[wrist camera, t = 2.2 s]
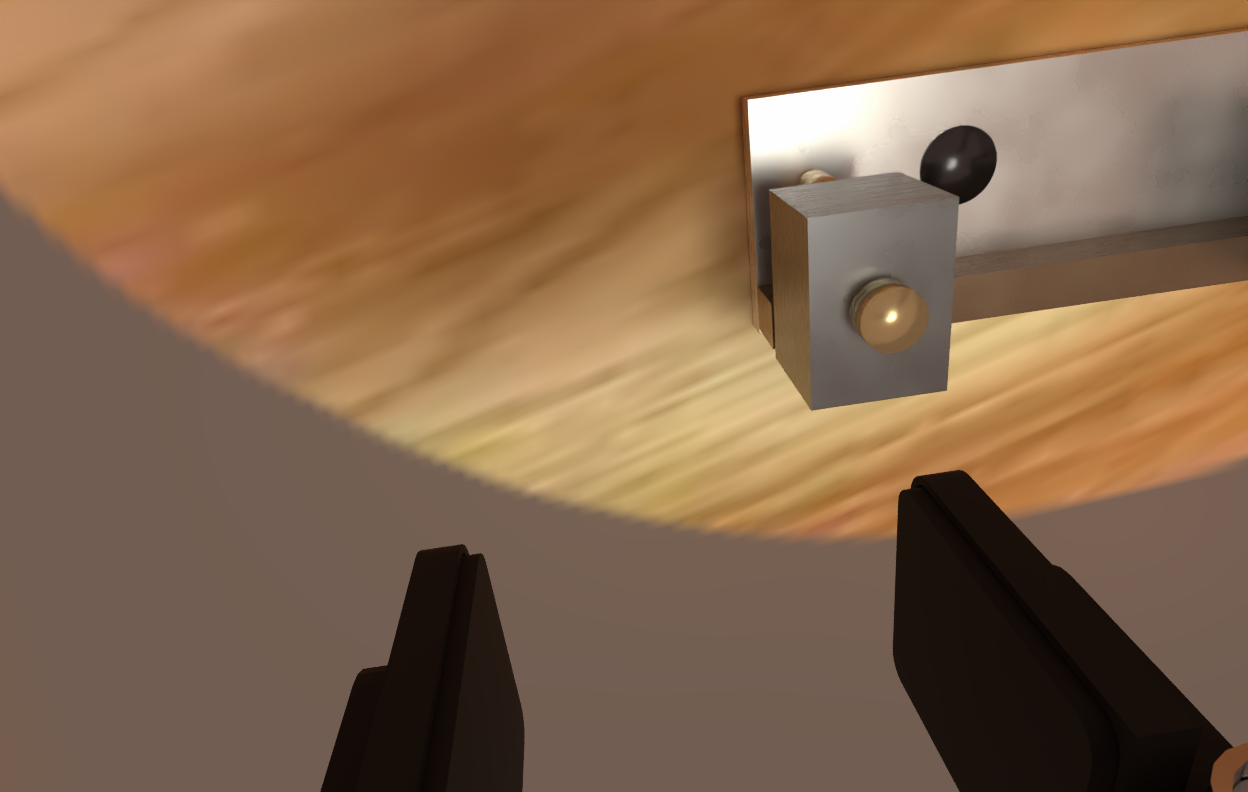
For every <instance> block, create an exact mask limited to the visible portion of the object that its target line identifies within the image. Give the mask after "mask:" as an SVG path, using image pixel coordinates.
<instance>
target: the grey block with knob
mask: <svg viewBox="0 0 1248 792" xmlns="http://www.w3.org/2000/svg"><path fill="white" fill-rule="evenodd" d="M769 202H770V226H771V251H772V276H773V301H774V325H775V350H776V359H777V360H778V362H779V363H780V365H781V366H782V368H783V369H784V371H785V372H786V374H787V375H788V377H789V378H790V380H791V381H792V383H793V384H794V386H795V387H796V388H797V390H798V391H799V393H800V394H801V396H802V397H803V399H804V400H805V402H806V403H807V405H808V406H809V408H810V409H811V410H818V409H825V408H831V407H838V406H845V405H852V404H859V403H865V402H872V401H879V400H886V399H893V398H899V397H906V396H913V395H920V394H927V393H933V392H940V391H947V381H948V366H949V350H950V335H951V319H952V303H953V288H954V272H955V257H956V241H957V226H958V210H959V197H958V196H956V195H953V194H951V193H949V192H946V191H944V190H941V189H939V188H937V187H934V186H932V185H929V184H927V183H925V182H922V181H920V180H917V179H915V178H913V177H910V176H908V175H905V174H903V173H901V172H890V173H883V174H876V175H869V176H862V177H855V178H848V179H841V180H839V179H837V178H835V177H833V176H831V175H829V174H828V173H826V172H824V171H821V170H811V171H808V172H806V173H805V174H804V175H803V176H802V177H801V178H800V179H799V181H798V184H797V186H791V187H784V188H777V189H770V190H769Z"/></svg>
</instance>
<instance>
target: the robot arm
mask: <svg viewBox="0 0 1248 792" xmlns="http://www.w3.org/2000/svg"><path fill="white" fill-rule="evenodd" d="M894 606H895V607H894V632H893V634H894V635H893V657H894V662H895V667H896V670H897V673H898V676H899V678H900V680H901V682H902V684H903V686H904V688H905V690H906V692H907V694H908V695H909V697H910V699H911V701H912V703H913V705H914V707H915V709H916V710H917V713H918V714H919V716H920V718H921V720H922V721H923V724H924V726H925V727H926V729H927V731H928V733H929V735H930V737H931V739H932V741H933V743H934V744H935V746H936V748H937V750H938V752H939V754H940V756H941V757H942V759H943V761H944V763H945V765H946V767H947V769H948V771H949V773H950V774H951V776H952V778H953V780H954V782H955V783H956V786H957V788H958V789H959V791H960V792H1248V743H1244V744H1242V745H1239V746H1236V747H1232V745H1231V744H1230V743H1229V742H1228V741H1227V740H1226V739H1225V738H1224V737H1223V736H1222V735H1221V734H1220V733H1219V732H1218V731H1217V730H1216V729H1215V727H1214V726H1213V725H1212V724H1211V723H1210V722H1209V721H1208V720H1207V719H1206V718H1205V717H1204V716H1203V715H1202V714H1201V713H1200V712H1199V711H1198V710H1197V709H1196V708H1195V706H1194V705H1193V704H1192V703H1191V702H1190V701H1189V700H1188V699H1187V698H1186V697H1185V696H1184V695H1183V694H1182V693H1181V692H1180V690H1179V689H1178V688H1177V687H1176V686H1175V685H1174V684H1173V683H1172V682H1171V681H1170V680H1169V679H1168V678H1167V677H1166V676H1165V675H1164V674H1163V672H1161V670H1160V669H1159V668H1158V667H1157V666H1156V665H1155V664H1154V663H1153V662H1152V661H1151V660H1150V659H1149V658H1148V657H1147V656H1146V655H1145V653H1144V652H1142V650H1141V649H1140V648H1139V647H1138V646H1137V645H1136V644H1135V643H1134V642H1133V641H1132V640H1131V639H1130V638H1129V637H1128V635H1126V633H1125V632H1124V631H1123V630H1122V629H1121V628H1120V627H1119V626H1118V625H1117V624H1116V623H1115V622H1114V621H1113V620H1112V619H1111V618H1110V617H1109V615H1108V614H1107V613H1106V612H1105V611H1104V610H1103V609H1102V608H1101V607H1100V606H1099V605H1098V604H1097V603H1096V602H1095V601H1094V600H1093V598H1092V597H1091V596H1090V595H1089V594H1088V593H1087V592H1086V591H1085V590H1084V589H1083V588H1082V587H1081V586H1080V585H1079V584H1078V583H1077V582H1076V581H1075V579H1074V578H1073V577H1072V576H1071V575H1069V574H1068V573H1067V572H1066V571H1065V570H1063V569H1062V568H1061V567H1058V566H1055V565H1052V564H1051V563H1050V562H1049V561H1048V560H1047V559H1046V558H1045V557H1044V556H1043V554H1042V553H1041V552H1040V551H1039V550H1038V549H1037V548H1036V547H1035V546H1034V545H1033V544H1032V543H1031V541H1030V540H1029V539H1028V538H1027V537H1026V536H1025V535H1024V534H1023V533H1022V532H1021V531H1020V530H1019V529H1018V527H1017V526H1016V525H1015V524H1014V523H1013V522H1012V521H1011V520H1010V519H1009V518H1008V517H1007V516H1006V515H1005V513H1004V512H1003V511H1002V510H1001V509H1000V508H999V507H998V506H997V505H996V504H995V503H994V502H993V501H992V499H991V498H990V497H989V496H988V495H987V494H986V493H985V492H984V491H983V490H982V489H981V488H980V487H979V486H978V484H977V483H976V482H975V481H974V480H973V479H972V478H971V477H970V476H969V475H968V474H967V473H966V472H964V471H961V470H956V471H949V472H943V473H936V474H929V475H922V476H917V477H915V478H914V479H913V482H912V484H911V489H907V490H903V491H901V492H900V495H899V500H898V524H897V551H896V578H895V605H894ZM523 760H524V721H523V713H522V708H521V703H520V699H519V695H518V691H517V687H516V683H515V679H514V675H513V671H512V667H511V663H510V659H509V654H508V651H507V646H506V642H505V639H504V634H503V630H502V626H501V622H500V618H499V614H498V610H497V606H496V602H495V598H494V594H493V589H492V585H491V581H490V577H489V573H488V569H487V565H486V561H485V558H484V556H483V554H481V553H480V554H473V555H469V553H468V550H467V548H466V546H465V545H463V544H461V545H455V546H447V547H441V548H434V549H428V550H421V551H419V552H418V553H417V555H416V558H415V562H414V566H413V569H412V573H411V577H410V581H409V585H408V589H407V593H406V596H405V600H404V604H403V609H402V612H401V616H400V619H399V623H398V627H397V631H396V635H395V639H394V643H393V646H392V650H391V654H390V658H389V662H388V665H387V666H380V667H373V668H366V669H363V670H362V671H361V672H360V673H359V674H358V675H357V677H356V679H355V682H354V684H353V687H352V690H351V693H350V696H349V700H348V703H347V706H346V710H345V713H344V716H343V719H342V723H341V726H340V729H339V733H338V736H337V739H336V742H335V746H334V749H333V752H332V755H331V759H330V762H329V766H328V769H327V772H326V775H325V778H324V782H323V785H322V788H321V792H522V787H523V762H524V761H523Z"/></svg>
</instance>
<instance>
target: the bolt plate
mask: <svg viewBox="0 0 1248 792" xmlns="http://www.w3.org/2000/svg"><path fill="white" fill-rule="evenodd" d="M741 106H742V124H743V143H744V162H745V181H746V200H747V219H748V237H749V256H750V275H751V294H752V313H753V325H754V326H755V328H756V329H757V331H758V332H759V334H760V333H763V335H764V336H765V338H766V339H767V341H768V342H769V343H770V345H771V346H772V348H773V349H775V325H774V301H773V276H772V251H771V226H770V202H769V190H770V189H777V188H784V187H791V186H797V184H798V181H799V179H800V178H801V177H802V176H803V175H804V174H805V173H806V172H808V171H811V170H821V171H824V172H826V173H828V174H829V175H831V176H833V177H835V178H837V179H839V180H841V179H848V178H855V177H862V176H869V175H876V174H883V173H890V172H901V173H903V174H905V175H908V176H910V177H913V178H915V179H917V180H920V181H922V182H925V183H927V184H929V185H932V186H934V187H937V188H939V189H941V190H944V191H946V192H949V193H951V194H953V195H956V196H958V197H959V210H958V226H957V241H956V257H955V272H954V288H953V303H952V319H951V323H956V322H963V321H970V320H977V319H983V318H990V317H997V316H1004V315H1011V314H1018V313H1025V312H1032V311H1039V310H1045V309H1052V308H1059V307H1066V306H1073V305H1080V304H1087V303H1094V302H1100V301H1107V300H1114V299H1121V298H1128V297H1135V296H1142V295H1149V294H1156V293H1162V292H1169V291H1176V290H1183V289H1190V288H1197V287H1204V286H1211V285H1217V284H1224V283H1231V282H1238V281H1245V280H1248V28H1240V29H1233V30H1226V31H1219V32H1212V33H1204V34H1197V35H1190V36H1183V37H1175V38H1168V39H1161V40H1154V41H1146V42H1139V43H1132V44H1125V45H1117V46H1110V47H1103V48H1096V49H1088V50H1081V51H1074V52H1067V53H1059V54H1052V55H1045V56H1038V57H1030V58H1023V59H1016V60H1009V61H1002V62H994V63H987V64H980V65H973V66H965V67H958V68H951V69H944V70H936V71H929V72H922V73H915V74H907V75H900V76H893V77H886V78H878V79H871V80H864V81H857V82H849V83H842V84H835V85H828V86H821V87H813V88H806V89H799V90H792V91H784V92H777V93H770V94H763V95H755V96H748V97H741Z"/></svg>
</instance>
